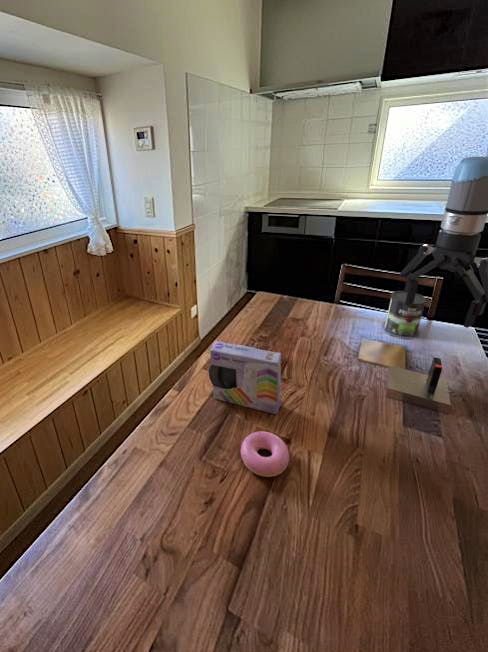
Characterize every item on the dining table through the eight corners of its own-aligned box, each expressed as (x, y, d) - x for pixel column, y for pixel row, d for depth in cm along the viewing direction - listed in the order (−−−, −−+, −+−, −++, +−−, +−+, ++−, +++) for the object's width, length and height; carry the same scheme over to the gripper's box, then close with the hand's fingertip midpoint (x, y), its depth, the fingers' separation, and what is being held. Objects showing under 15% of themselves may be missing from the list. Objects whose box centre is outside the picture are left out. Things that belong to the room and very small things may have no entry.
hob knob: (426, 380, 94) (433, 356, 90) (433, 382, 93) (441, 357, 89) (427, 391, 90) (434, 366, 86) (434, 393, 89) (442, 368, 86)
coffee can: (421, 340, 116) (431, 304, 110) (388, 338, 118) (396, 302, 112) (411, 325, 125) (419, 291, 119) (380, 323, 127) (387, 289, 121)
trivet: (404, 349, 112) (405, 347, 111) (404, 371, 102) (405, 369, 101) (361, 340, 118) (362, 338, 118) (357, 360, 108) (357, 358, 108)
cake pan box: (209, 398, 96) (206, 347, 89) (215, 387, 100) (213, 337, 93) (276, 417, 89) (280, 363, 81) (280, 404, 93) (284, 351, 85)
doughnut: (290, 445, 80) (291, 432, 79) (286, 487, 71) (288, 474, 69) (245, 434, 84) (245, 422, 82) (236, 473, 75) (235, 460, 73)
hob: (446, 388, 95) (449, 379, 93) (450, 414, 86) (453, 405, 85) (387, 373, 102) (389, 365, 100) (385, 396, 93) (387, 387, 92)
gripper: (395, 223, 84) (380, 299, 92) (525, 247, 63) (490, 341, 72) (412, 218, 87) (396, 292, 95) (541, 240, 67) (506, 331, 75)
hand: (436, 314), depth 84 cm, fingers open, 13 cm apart
